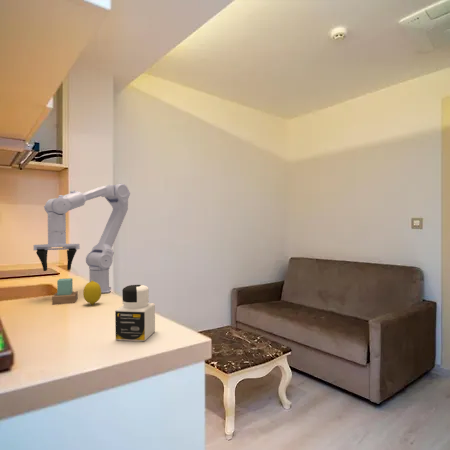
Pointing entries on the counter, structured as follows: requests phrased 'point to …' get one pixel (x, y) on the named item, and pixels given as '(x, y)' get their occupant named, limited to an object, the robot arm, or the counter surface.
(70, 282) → the teal block
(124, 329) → the medicine bottle
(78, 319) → the counter surface
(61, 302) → the walnut block
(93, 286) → the lemon
